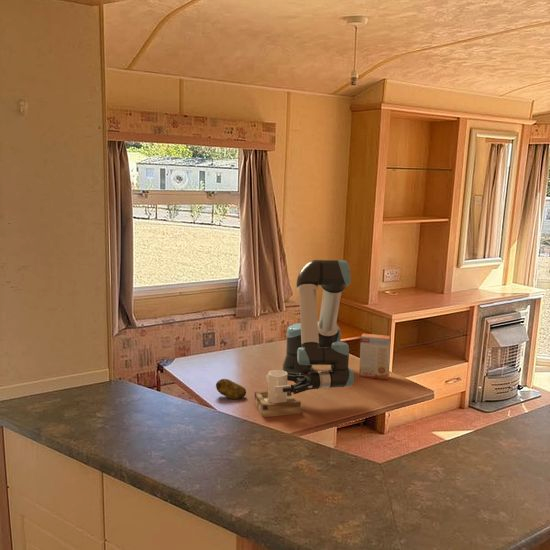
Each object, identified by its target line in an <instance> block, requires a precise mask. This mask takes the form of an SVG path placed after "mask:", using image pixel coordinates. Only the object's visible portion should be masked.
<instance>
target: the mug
mask: <svg viewBox="0 0 550 550" xmlns="http://www.w3.org/2000/svg"><path fill="white" fill-rule="evenodd" d="M267 375H268V381H267V387H268V388H267V391H268V398H267V400H268V401H269V402H271V403H280V402H287V392H284V393H274V386H285V385H288V380H287V372H286V371H283V369H272V370H270V371H268V374H267Z"/></svg>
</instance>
